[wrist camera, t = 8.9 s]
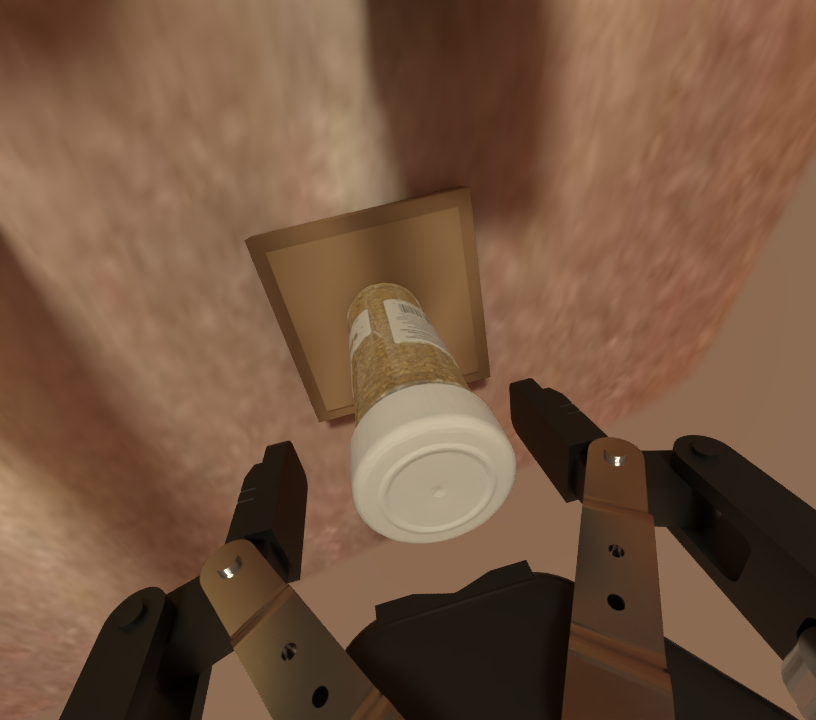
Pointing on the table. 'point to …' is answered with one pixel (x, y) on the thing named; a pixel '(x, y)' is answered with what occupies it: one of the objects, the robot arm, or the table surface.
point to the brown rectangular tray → (368, 265)
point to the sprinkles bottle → (418, 427)
